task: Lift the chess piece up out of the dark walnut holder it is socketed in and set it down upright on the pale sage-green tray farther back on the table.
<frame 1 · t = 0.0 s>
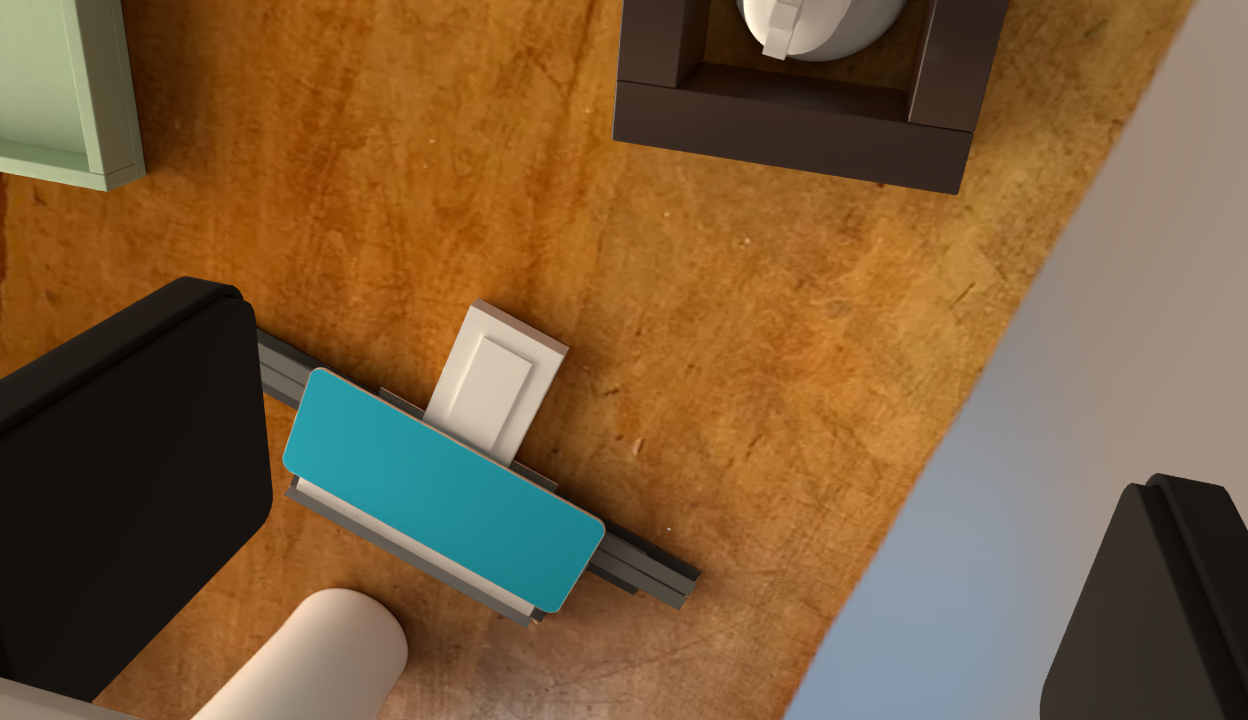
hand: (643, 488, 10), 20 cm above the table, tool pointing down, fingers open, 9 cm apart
drinking glass: (359, 626, 43), on the table
phone stand: (469, 442, 37), on the table
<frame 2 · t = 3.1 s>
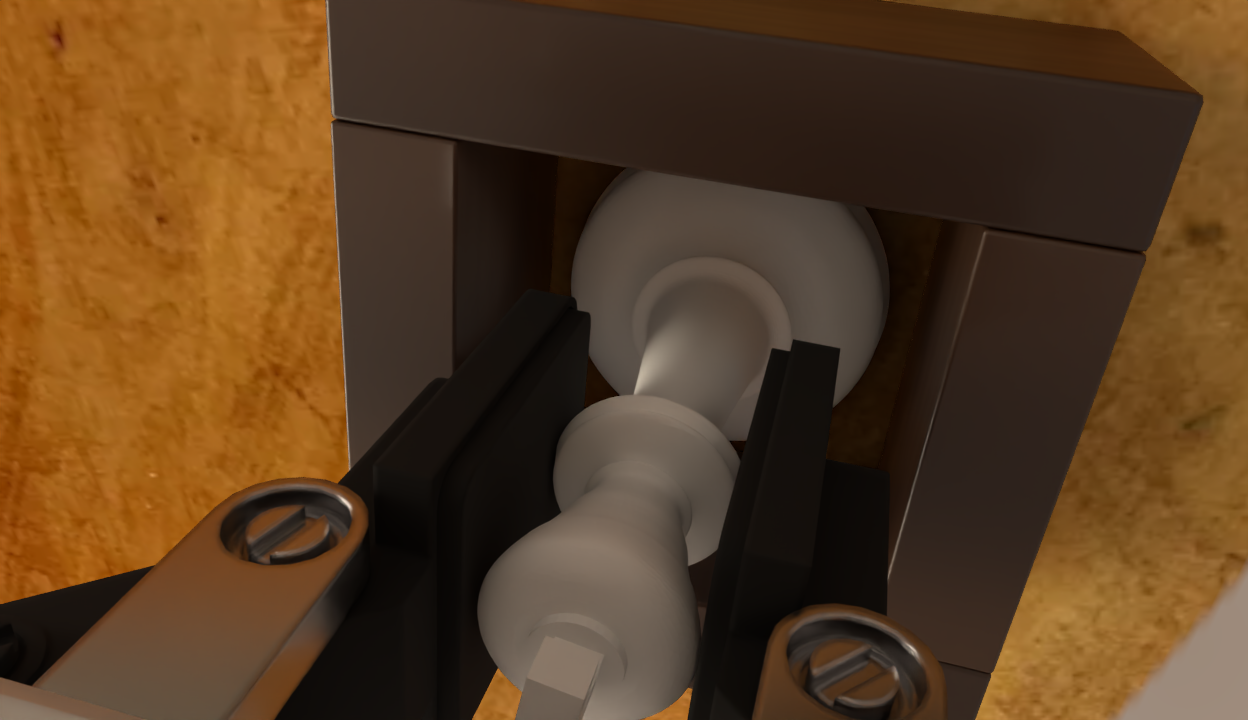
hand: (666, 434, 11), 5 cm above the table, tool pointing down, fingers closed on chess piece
holder: (727, 288, 15), on the table
chess piece: (729, 284, 15), resting in holder, touching gripper
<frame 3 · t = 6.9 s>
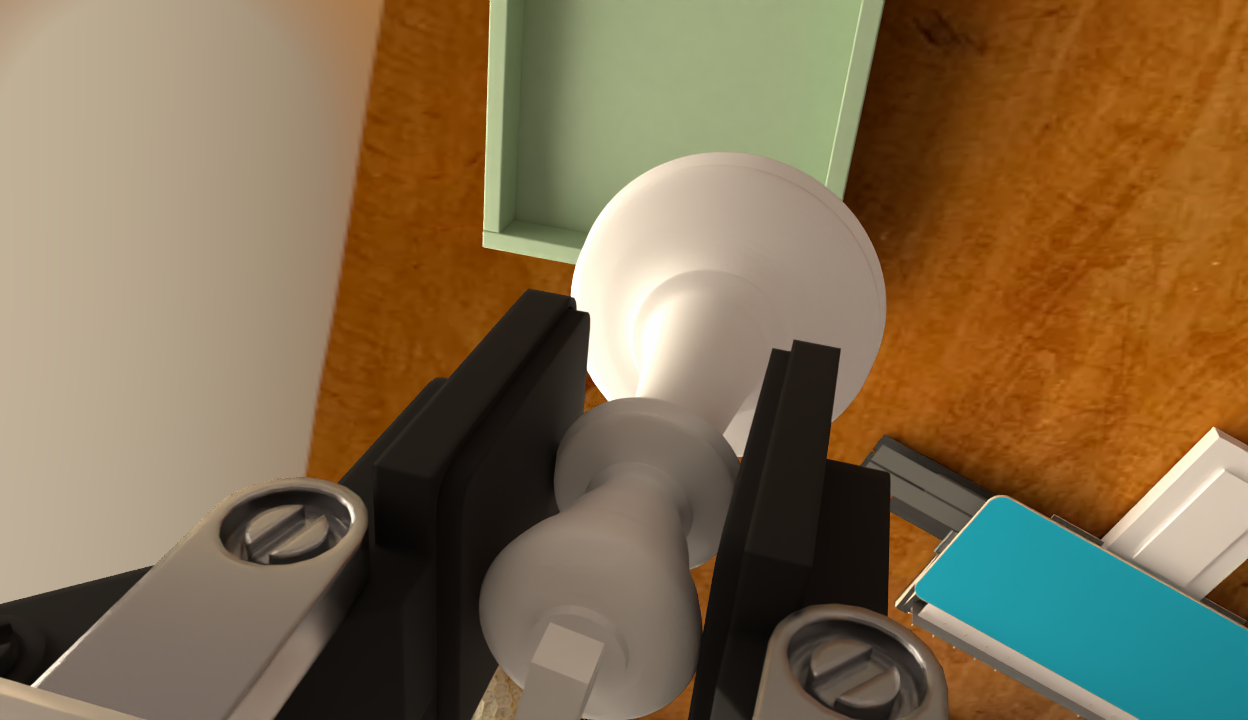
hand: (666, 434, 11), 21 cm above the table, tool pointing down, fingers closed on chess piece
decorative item: (458, 678, 45), on the table
tray: (679, 90, 30), on the table
phone stand: (1133, 570, 34), on the table
chess piece: (727, 301, 16), point 16 cm above the table, touching gripper
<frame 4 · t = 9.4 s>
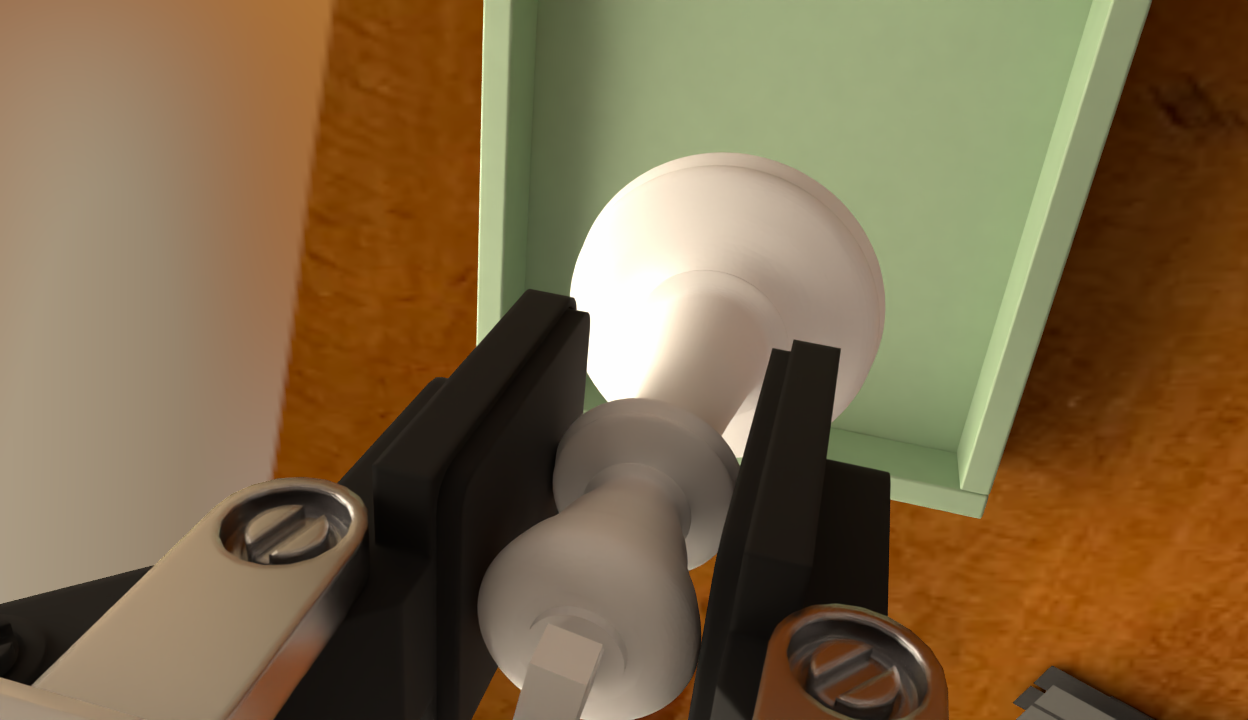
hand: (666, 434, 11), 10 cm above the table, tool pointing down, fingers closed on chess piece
tray: (768, 188, 20), on the table
chess piece: (726, 301, 16), point 5 cm above the table, touching gripper
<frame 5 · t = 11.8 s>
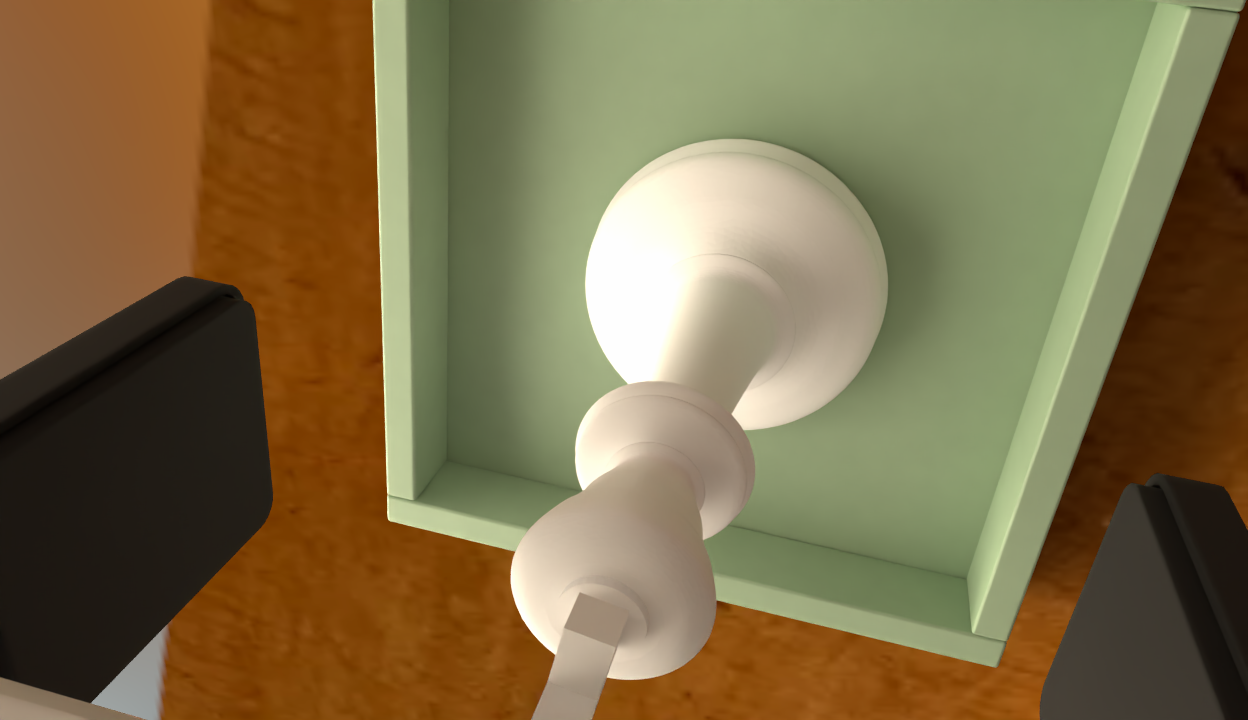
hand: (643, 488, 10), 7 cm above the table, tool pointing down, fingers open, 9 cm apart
tray: (736, 262, 16), on the table
chess piece: (735, 281, 16), resting on tray
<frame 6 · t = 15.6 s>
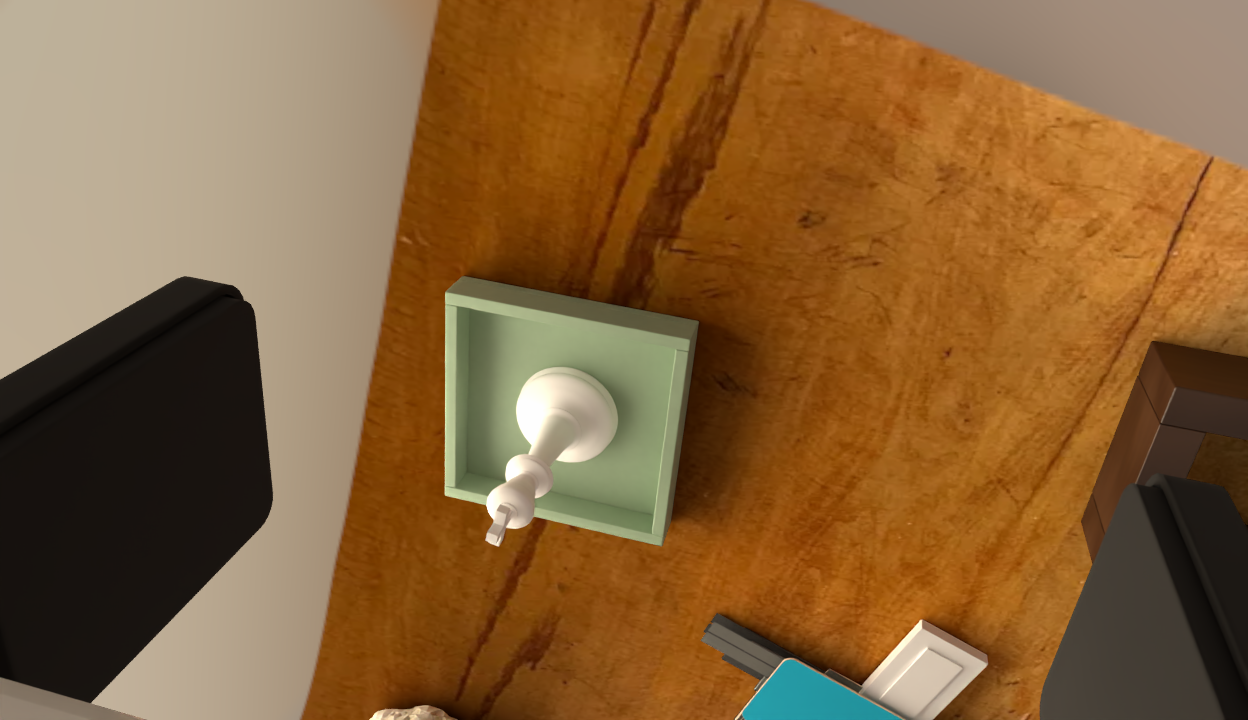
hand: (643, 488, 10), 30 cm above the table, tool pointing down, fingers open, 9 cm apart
tray: (570, 403, 47), on the table
holder: (1229, 458, 40), on the table
phone stand: (886, 703, 50), on the table
chess piece: (569, 410, 46), resting on tray
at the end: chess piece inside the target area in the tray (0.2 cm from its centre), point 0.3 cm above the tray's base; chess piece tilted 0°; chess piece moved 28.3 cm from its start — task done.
